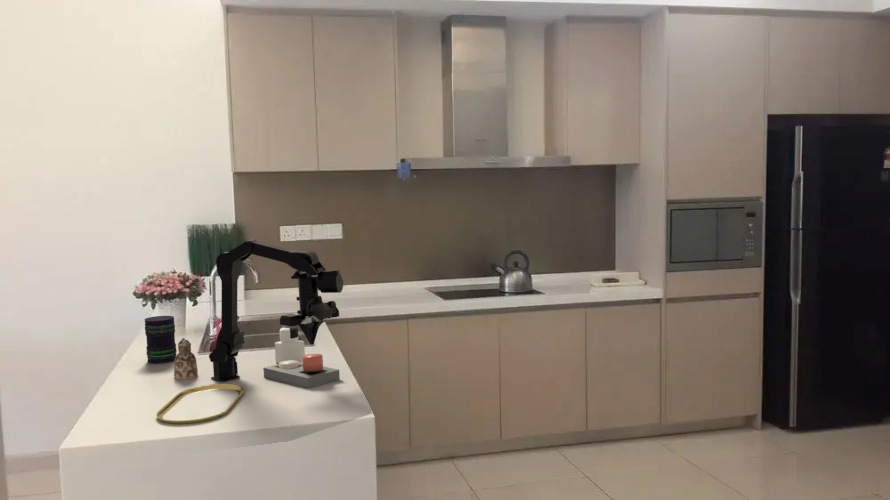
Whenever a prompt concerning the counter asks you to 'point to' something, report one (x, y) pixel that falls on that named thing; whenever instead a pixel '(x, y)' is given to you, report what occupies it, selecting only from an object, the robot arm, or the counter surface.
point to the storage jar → (160, 339)
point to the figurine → (185, 362)
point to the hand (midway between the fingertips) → (311, 344)
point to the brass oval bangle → (194, 390)
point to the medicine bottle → (289, 346)
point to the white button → (288, 364)
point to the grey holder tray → (302, 375)
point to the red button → (312, 362)
